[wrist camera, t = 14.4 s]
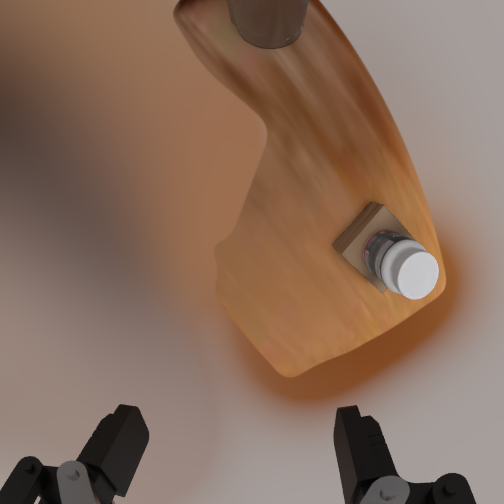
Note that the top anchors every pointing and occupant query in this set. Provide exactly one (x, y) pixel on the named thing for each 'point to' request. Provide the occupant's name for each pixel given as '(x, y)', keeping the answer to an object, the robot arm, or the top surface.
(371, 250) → the pill bottle
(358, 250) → the walnut block
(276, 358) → the top surface
